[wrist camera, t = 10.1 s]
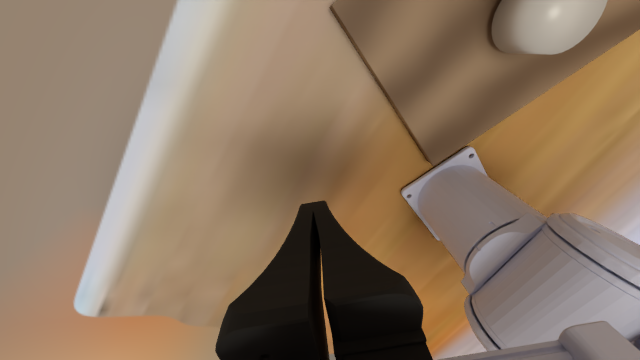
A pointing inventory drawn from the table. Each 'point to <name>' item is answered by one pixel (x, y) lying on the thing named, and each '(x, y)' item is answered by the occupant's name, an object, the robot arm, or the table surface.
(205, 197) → the table surface
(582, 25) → the coupling lever
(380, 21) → the base
